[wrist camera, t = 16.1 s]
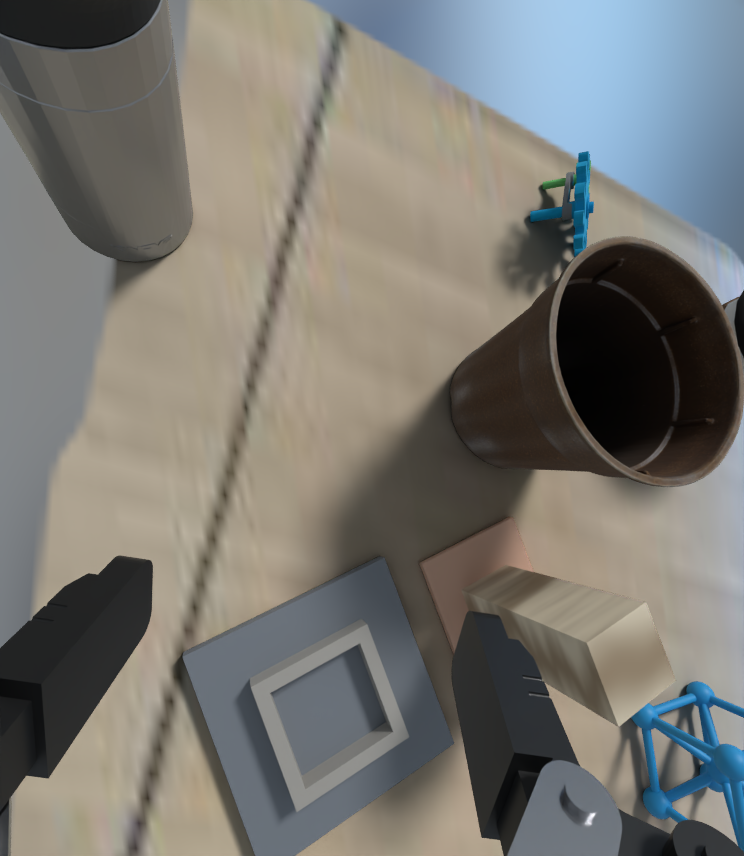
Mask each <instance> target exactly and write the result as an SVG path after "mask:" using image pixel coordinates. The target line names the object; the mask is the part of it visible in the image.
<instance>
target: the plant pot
mask: <svg viewBox="0 0 744 856" xmlns="http://www.w3.org/2000/svg"><path fill="white" fill-rule="evenodd" d="M450 395H451V399H452V413H451V416H452V420H453V423H454V425H455V428H456V430H457V432H458V434H459V436H460V437H461V439H462V440H463V442H464V443H465V444H466V446H467V447H468V448H469V449H470V450H471V451H472V452H473V453H474V454H475V455H476V456H478V457H479V458H480V459H482V460H483V461H485V462H487V463H489V464H491V465H494V466H497V467H501V468H510V469H539V470H566V471H587V472H592V473H595V474H598V475H603V476H608V477H621V478H629V479H632V480H634V481H637V482H640V483H644V484H648V485H652V486H661V487H676V486H683V485H688V484H691V483H694V482H696V481H698V480H700V479H702V478H704V477H705V476H707V475H708V474H710V473H711V472H712V471H713V470H714V469H715V468H716V467H717V466H718V465H719V464H720V463H721V462H722V460H723V459H724V458H725V456H726V454H727V453H728V451H729V449H730V447H731V446H732V444H733V442H734V440H735V437H736V435H737V433H738V430H739V426H740V423H741V419H742V414H743V405H744V374H743V367H742V361H741V356H740V351H739V347H738V343H737V340H736V337H735V334H734V331H733V328H732V326H731V323H730V321H729V319H728V316H727V314H726V312H725V310H724V308H723V306H722V305H721V303H720V301H719V299H718V298H717V296H716V295H715V293H714V292H713V290H712V289H711V288H710V286H709V285H708V284H707V283H706V281H705V280H704V279H703V278H702V277H701V276H700V274H699V273H698V272H697V271H696V270H695V269H694V268H693V267H692V266H690V265H689V264H688V263H687V262H686V261H685V260H684V259H682V258H681V257H679V256H678V255H676V254H675V253H673V252H672V251H670V250H669V249H667V248H665V247H663V246H661V245H659V244H657V243H655V242H652V241H649V240H646V239H642V238H637V237H625V236H621V237H613V238H608V239H604V240H601V241H599V242H596V243H594V244H592V245H590V246H589V247H587V248H586V249H584V250H583V251H582V252H581V253H579V254H578V255H577V256H576V257H575V258H574V259H572V261H571V262H570V263H569V264H568V265H567V266H566V268H565V269H564V271H563V272H562V274H561V275H560V277H559V279H558V280H556V281H555V282H554V283H553V284H552V285H550V286H549V287H548V288H547V289H546V290H545V291H544V292H542V293H541V294H540V296H539V297H538V298H537V299H536V300H535V302H534V303H533V304H532V306H531V307H530V308H529V309H527V310H526V311H525V312H524V313H523V314H521V315H520V316H519V317H518V318H516V319H515V320H514V321H513V322H511V323H510V324H509V325H507V326H506V327H505V328H504V329H502V330H501V331H500V332H499V333H497V334H496V335H495V336H493V337H492V338H491V339H490V340H488V341H487V342H486V343H484V344H483V345H482V346H481V347H479V348H478V349H476V350H475V351H473V352H472V353H471V354H470V355H468V356H467V357H466V358H465V359H464V361H463V362H462V363H461V364H460V366H459V367H458V369H457V371H456V373H455V375H454V377H453V380H452V383H451V388H450Z"/></svg>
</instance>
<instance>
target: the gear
mask: <svg viewBox="0 0 744 856" xmlns="http://www.w3.org/2000/svg"><path fill="white" fill-rule="evenodd" d="M590 169H591V161H590V154H589V152H588V151H587V152H582V153H579V157H578V163H577V165H576V175H574V172H569V173H567V174H566V178H562V179H557V180H552V181H546V182H543V190H544V189H550V188H555V187H561V186H565V189H564V197H563V205H562V207H556V208H550V209H543V210H537V211H531V214H530V220H531V222H534V221H541V220H548V219H554V218H561V217H562V220H569V219H574V221H573V226H574V227H575V235H574V249H575V253H574V258H575V257H576V256H577V255H578V254H579V253H581V252H582V251H583V250H584V249H585V248H586V245H587V230H588V218H589V213H593V208H594V201H593V202H589V196H590V193H589V184H590ZM574 185H575V193H574V198H575V201H572V202H569V200H570V192H571V189H574Z"/></svg>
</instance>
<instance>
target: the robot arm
mask: <svg viewBox="0 0 744 856" xmlns="http://www.w3.org/2000/svg"><path fill="white" fill-rule="evenodd" d="M0 113H1V115H2V116H3V118H4V120H5V122H6V123H7V125H8V127H9V128H10V130H11V132H12V133H13V135H14V137H15V138H16V140H17V142H18V143H19V145H20V147H21V148H22V150H23V152H24V153H25V155H26V157H27V158H28V160H29V162H30V163H31V165H32V167H33V168H34V170H35V172H36V174H37V175H38V177H39V178H40V180H41V182H42V183H43V185H44V187H45V189H46V191H47V192H48V194H49V196H50V197H51V199H52V201H53V202H54V204H55V205H56V207H57V209H58V211H59V212H60V214H61V215H62V217H63V218H64V220H65V222H66V223H67V225H68V227H69V228H70V230H71V231H72V233H73V234H74V235H76V237H77V238H78V239H79V240H80V241H81V242H83V243H84V244H85V245H87V246H88V247H90V248H91V249H93V250H94V251H96V252H98V253H101V254H103V255H105V256H107V257H111V258H114V259H118V260H123V261H134V262H137V261H149V260H153V259H156V258H159V257H162V256H164V255H166V254H168V253H170V252H172V251H173V250H174V249H176V248H177V247H178V246H179V245H180V244H181V243H182V242H183V241H184V239H185V238H186V236H187V235H188V233H189V230H190V227H191V225H192V216H193V210H192V201H191V192H190V183H189V172H188V164H187V156H186V147H185V139H184V130H183V122H182V113H181V105H180V96H179V88H178V79H177V71H176V63H175V54H174V46H173V38H172V32H171V23H170V15H169V6H168V0H0ZM152 578H153V565H152V562H151V561H150V560H146V559H139V558H133V557H126V556H117V557H115V558H114V559H113V560H112V561H111V562H110V563H109V564H108V565H107V566H106V567H105V568H104V569H103V570H102V571H101V572H100V573H99V574H98V575H96V574H89V573H88V574H86V575H85V576H83V577H81V578H79V579H77V580H75V581H74V582H72V583H70V584H68V585H66V586H65V587H64V588H63V589H62V590H60V591H59V592H58V593H57V594H56V595H55V596H54V597H53V598H52V599H51V600H50V601H49V602H48V604H47V606H44V607H43V608H42V609H41V610H40V611H39V612H38V613H37V614H35V615H34V616H33V619H32V620H31V621H28V622H27V623H26V624H25V625H24V626H23V627H22V628H21V629H20V630H19V631H18V632H17V633H16V634H15V635H14V636H13V637H11V638H10V639H9V640H8V641H7V642H6V643H5V644H4V645H3V646H2V647H1V648H0V856H11V813H12V802H11V796H12V795H13V793H14V792H15V790H16V789H17V788H18V786H19V785H20V783H21V782H22V781H23V779H24V778H25V776H34V777H41V778H49V777H50V775H51V774H52V772H53V771H54V769H55V768H56V766H57V765H58V763H59V762H60V760H61V759H62V757H63V756H64V754H65V753H66V751H67V750H68V748H69V747H70V745H71V744H72V742H73V741H74V739H75V738H76V736H77V735H78V733H79V732H80V730H81V729H82V727H83V726H84V724H85V723H86V721H87V720H88V718H89V717H90V715H91V714H92V712H93V711H94V709H95V708H96V706H97V705H98V703H99V702H100V700H101V699H102V697H103V696H104V694H105V693H106V691H107V690H108V688H109V687H110V685H111V684H112V682H113V681H114V679H115V678H116V676H117V675H118V673H119V672H120V670H121V669H122V667H123V666H124V664H125V663H126V661H127V660H128V658H129V657H130V655H131V654H132V652H133V651H134V649H135V648H136V646H137V645H138V643H139V642H140V640H141V639H142V637H143V636H144V634H145V632H146V629H147V627H148V624H149V621H150V617H151V611H152ZM452 685H453V691H454V696H455V701H456V706H457V712H458V717H459V722H460V727H461V732H462V738H463V743H464V748H465V753H466V759H467V764H468V769H469V774H470V780H471V785H472V790H473V795H474V801H475V806H476V811H477V816H478V821H479V827H480V832H481V837H482V838H489V839H497V840H500V841H501V845H502V850H503V854H504V856H744V851H743V850H741V849H740V848H739V847H738V846H737V845H736V844H735V843H734V842H733V841H732V840H730V839H729V838H728V837H727V836H725V835H724V834H722V833H721V832H719V831H718V830H716V829H715V828H713V827H711V826H709V825H707V824H705V823H702V822H699V821H695V820H683V821H681V822H679V823H678V824H677V825H676V826H675V828H674V830H673V831H672V833H671V834H669V833H666V832H664V831H662V830H660V829H658V828H656V827H654V826H652V825H650V824H647V823H645V822H643V821H641V820H639V819H637V818H635V817H633V816H631V815H629V814H627V813H625V812H623V811H621V810H620V809H618V808H617V806H616V804H615V802H614V800H613V798H612V797H611V795H610V794H609V792H608V791H607V789H606V788H605V787H604V786H603V785H602V784H601V783H600V782H599V781H598V780H597V779H596V778H595V777H594V776H593V775H592V774H590V773H589V772H588V771H586V770H585V769H583V768H582V767H580V765H579V763H578V761H577V758H576V756H575V754H574V751H573V749H572V747H571V744H570V742H569V740H568V737H567V735H566V733H565V730H564V728H563V725H562V723H561V721H560V718H559V716H558V714H557V711H556V709H555V707H554V704H553V702H552V700H551V699H550V698H549V692H548V690H547V688H546V685H545V683H544V682H543V681H542V676H541V674H540V671H539V669H538V667H537V664H536V662H535V660H534V658H533V656H532V655H531V654H530V653H529V652H528V650H527V649H526V648H525V647H524V646H523V645H522V643H521V642H520V641H519V640H516V639H509V638H508V636H507V633H506V631H505V628H504V625H503V623H502V620H501V618H500V616H499V615H495V614H489V613H482V612H476V611H468V612H467V614H466V616H465V619H464V622H463V626H462V629H461V633H460V636H459V639H458V643H457V646H456V649H455V653H454V656H453V661H452Z"/></svg>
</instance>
